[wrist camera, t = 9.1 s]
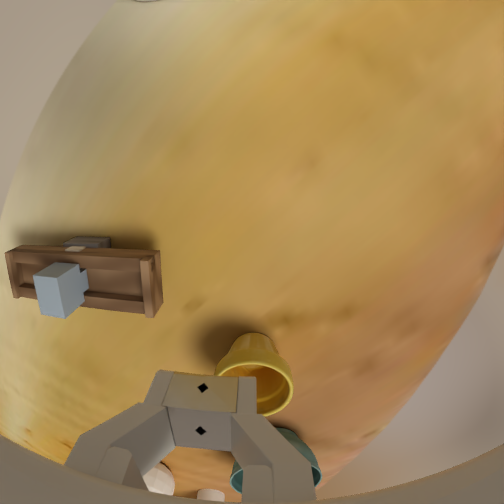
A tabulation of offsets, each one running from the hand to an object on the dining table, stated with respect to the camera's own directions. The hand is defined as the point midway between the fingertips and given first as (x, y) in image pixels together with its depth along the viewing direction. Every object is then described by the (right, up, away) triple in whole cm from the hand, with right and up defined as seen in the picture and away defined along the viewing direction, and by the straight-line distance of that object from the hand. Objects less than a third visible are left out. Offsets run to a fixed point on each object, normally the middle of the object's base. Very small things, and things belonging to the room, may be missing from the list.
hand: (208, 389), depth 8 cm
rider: (-22, +1, +26) cm, 34 cm away
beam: (-22, +3, +32) cm, 39 cm away
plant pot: (+1, -11, +36) cm, 37 cm away
